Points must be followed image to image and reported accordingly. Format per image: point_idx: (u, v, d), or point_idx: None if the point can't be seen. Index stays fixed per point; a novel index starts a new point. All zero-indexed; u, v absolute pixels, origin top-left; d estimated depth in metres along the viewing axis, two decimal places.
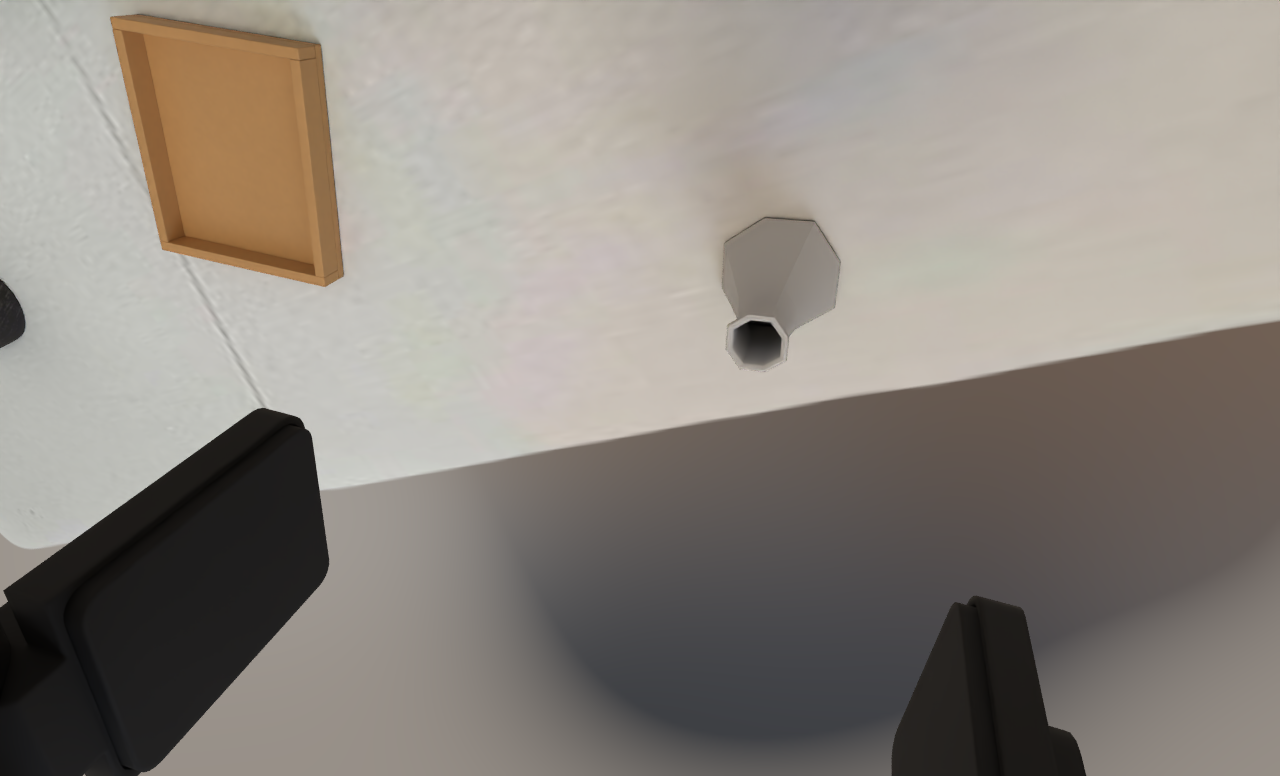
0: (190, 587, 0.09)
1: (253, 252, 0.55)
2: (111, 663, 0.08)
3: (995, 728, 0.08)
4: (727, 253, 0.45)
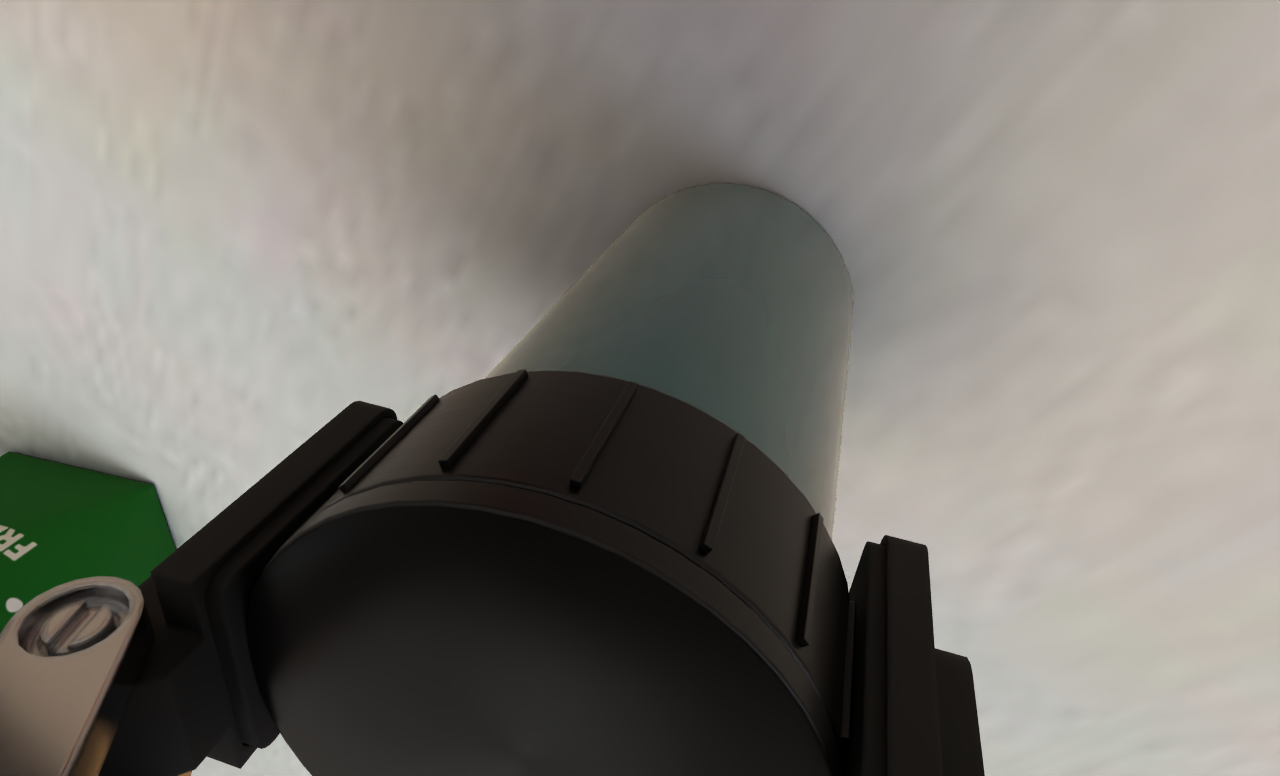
0: None
1: None
2: (242, 642, 0.09)
3: (885, 644, 0.08)
4: None
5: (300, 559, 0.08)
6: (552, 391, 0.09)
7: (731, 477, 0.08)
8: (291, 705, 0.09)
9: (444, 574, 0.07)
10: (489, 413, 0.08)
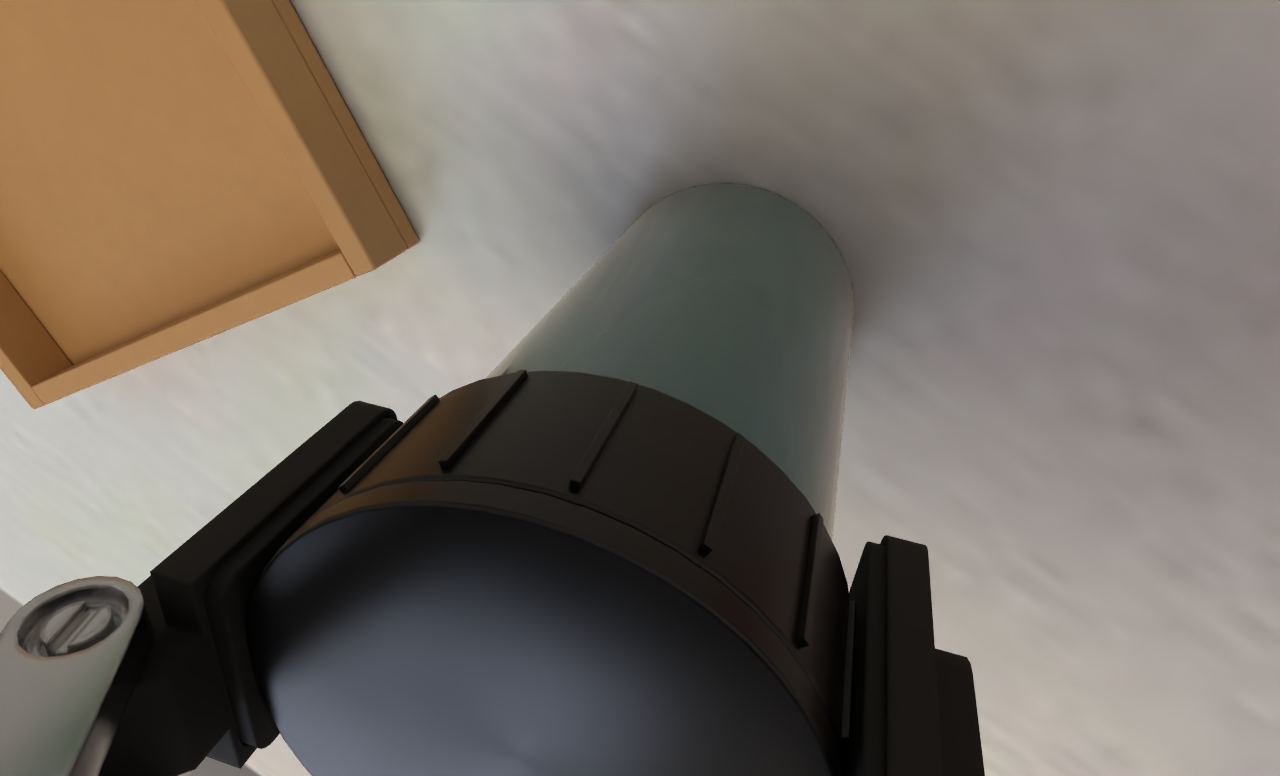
0: None
1: None
2: (241, 642, 0.09)
3: (885, 644, 0.08)
4: None
5: (300, 559, 0.08)
6: (552, 391, 0.09)
7: (731, 477, 0.08)
8: (291, 705, 0.09)
9: (444, 574, 0.07)
10: (489, 413, 0.08)
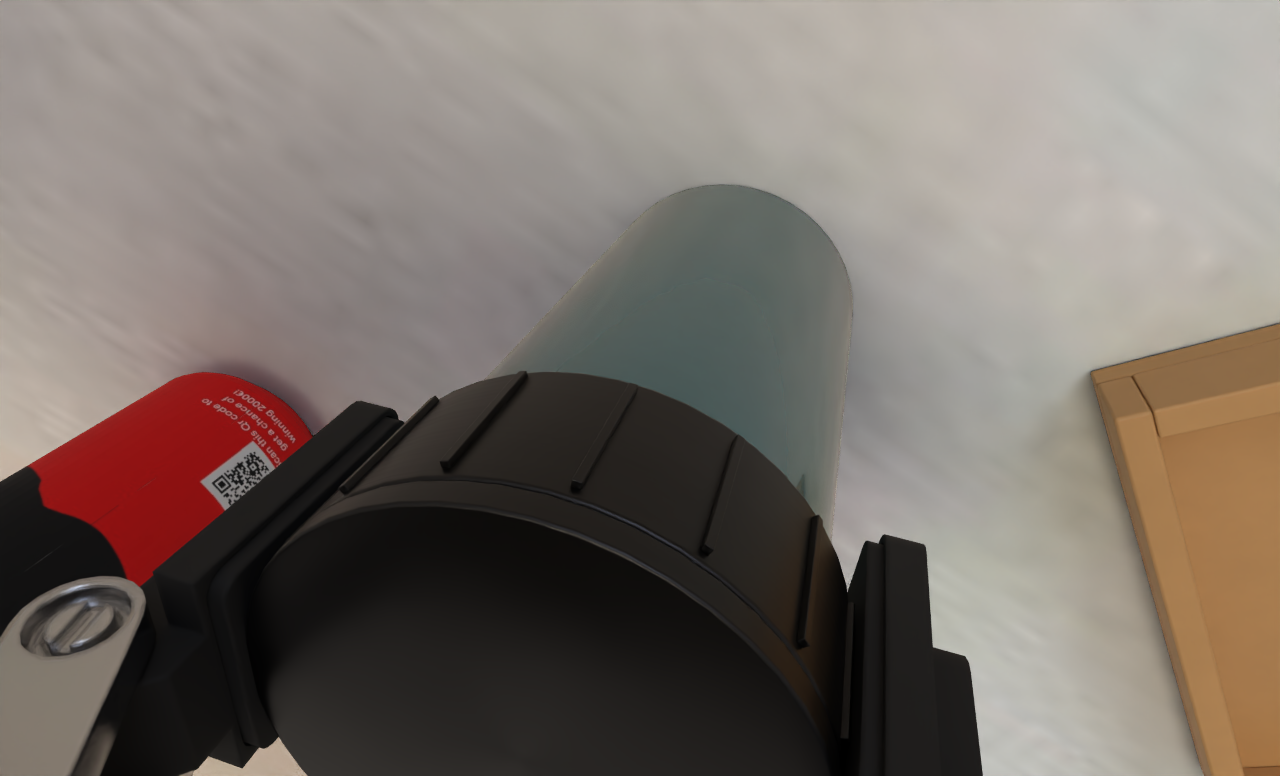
0: None
1: None
2: (244, 642, 0.09)
3: (884, 642, 0.08)
4: None
5: (300, 560, 0.08)
6: (552, 392, 0.09)
7: (731, 478, 0.08)
8: (288, 707, 0.09)
9: (445, 575, 0.07)
10: (490, 414, 0.08)
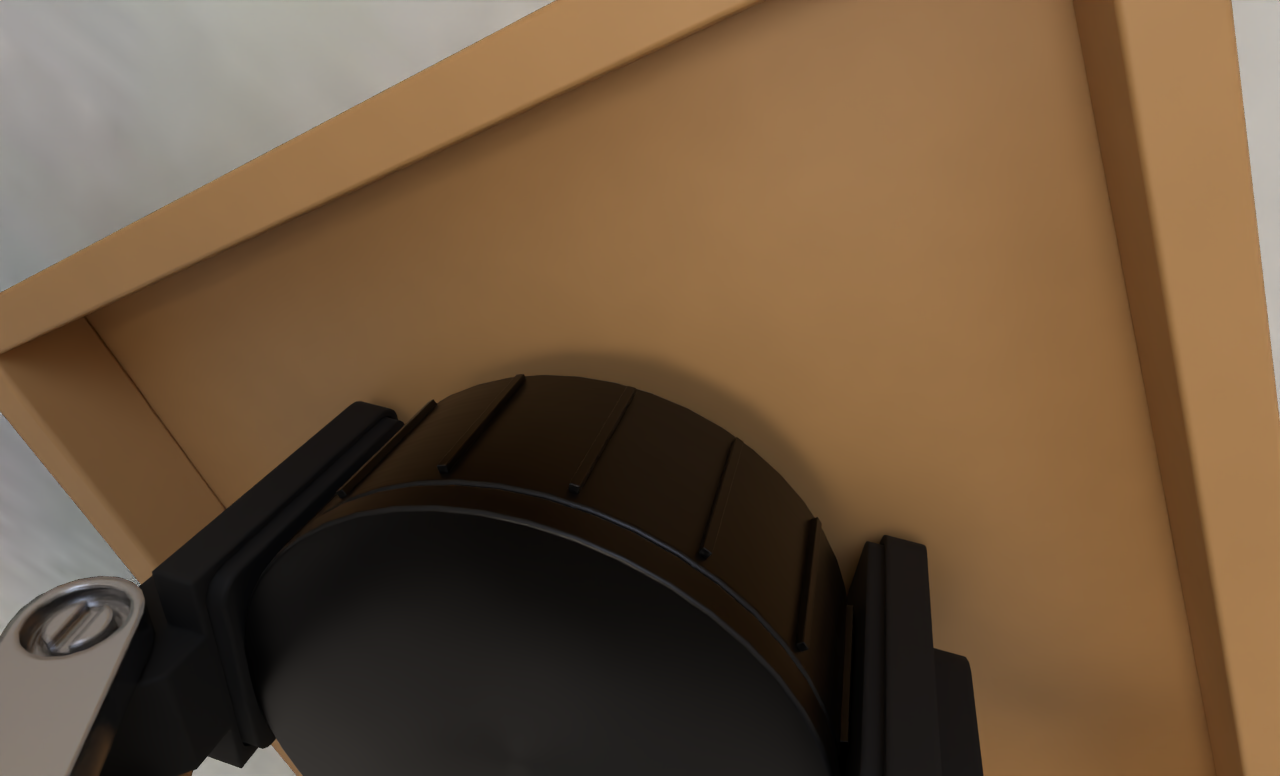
0: None
1: (1161, 460, 0.09)
2: (243, 642, 0.09)
3: (885, 643, 0.08)
4: None
5: (297, 565, 0.08)
6: (550, 396, 0.09)
7: (729, 481, 0.08)
8: (287, 711, 0.09)
9: (443, 579, 0.07)
10: (487, 418, 0.08)
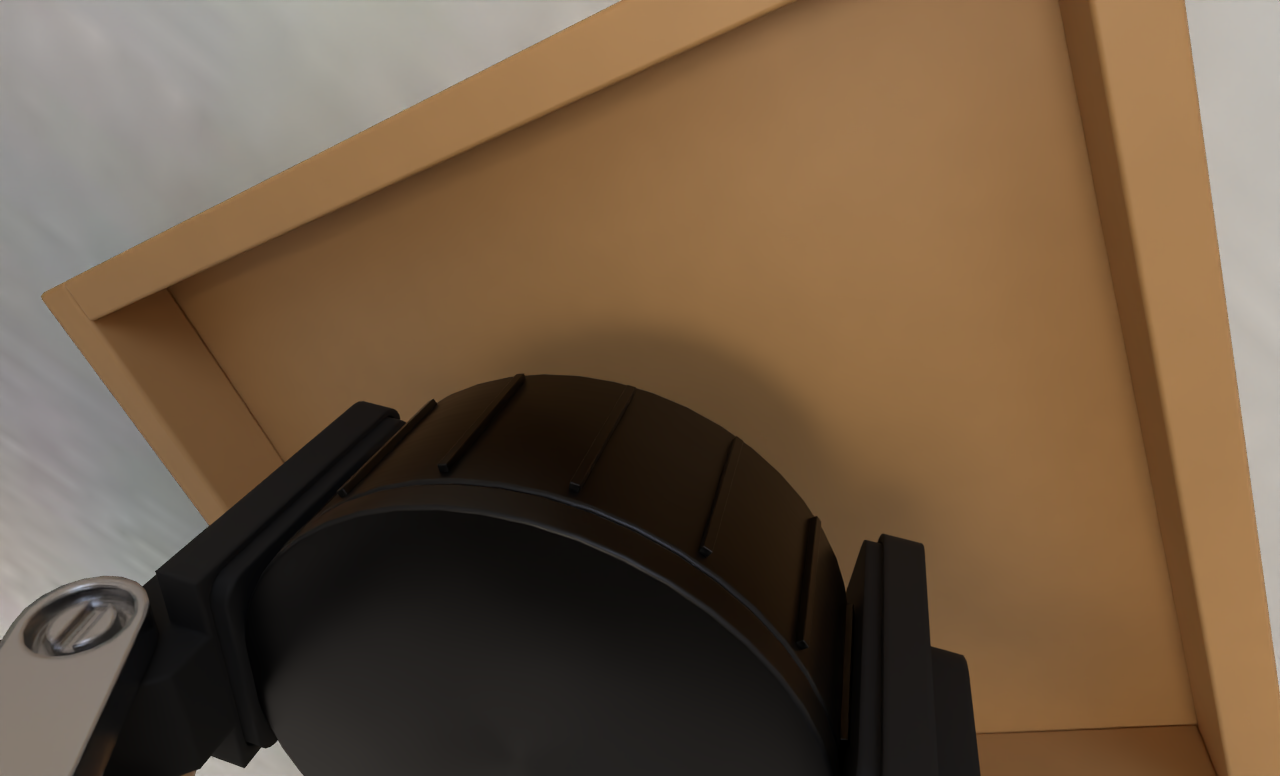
0: None
1: (1138, 405, 0.10)
2: None
3: (882, 641, 0.08)
4: None
5: (298, 564, 0.08)
6: (551, 395, 0.09)
7: (730, 480, 0.08)
8: (288, 710, 0.09)
9: (443, 578, 0.07)
10: (488, 417, 0.08)
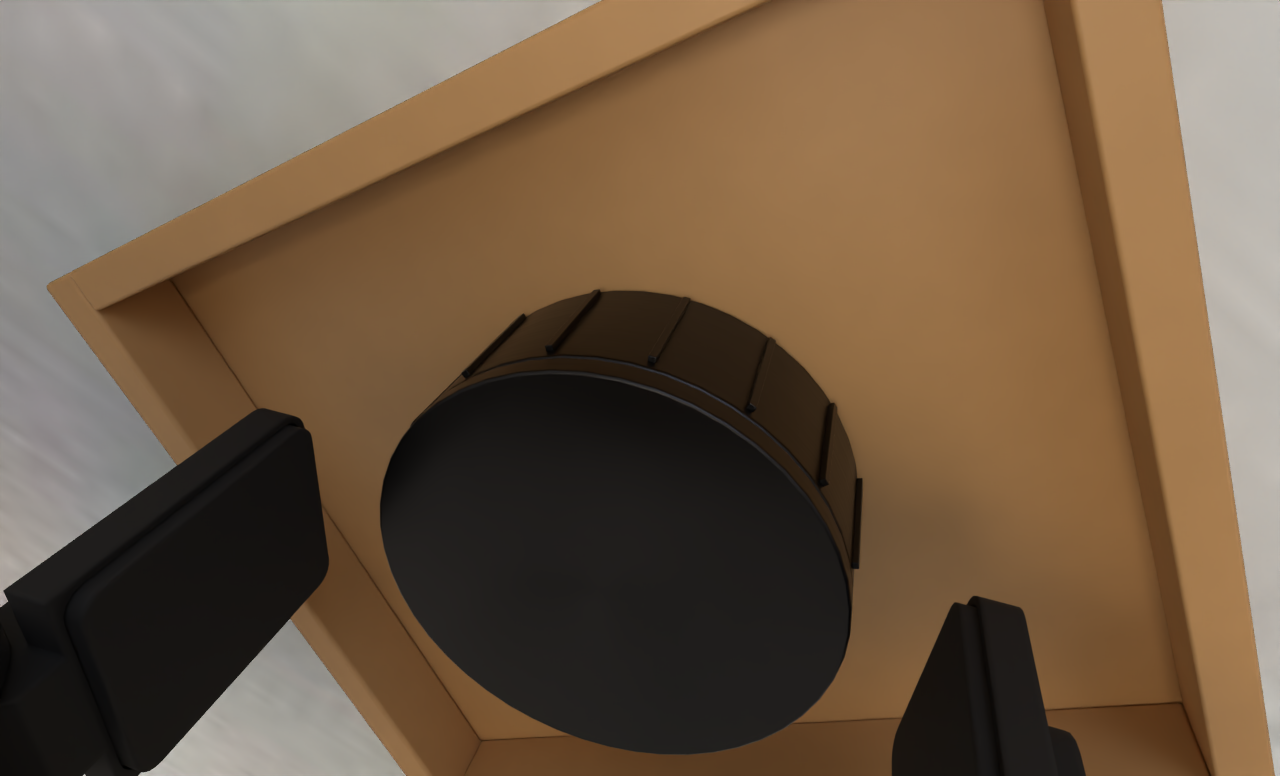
0: (190, 587, 0.09)
1: (1122, 387, 0.10)
2: (111, 663, 0.08)
3: (995, 728, 0.08)
4: None
5: (433, 426, 0.10)
6: (623, 303, 0.11)
7: (766, 365, 0.10)
8: (409, 559, 0.12)
9: (550, 431, 0.10)
10: (577, 317, 0.10)
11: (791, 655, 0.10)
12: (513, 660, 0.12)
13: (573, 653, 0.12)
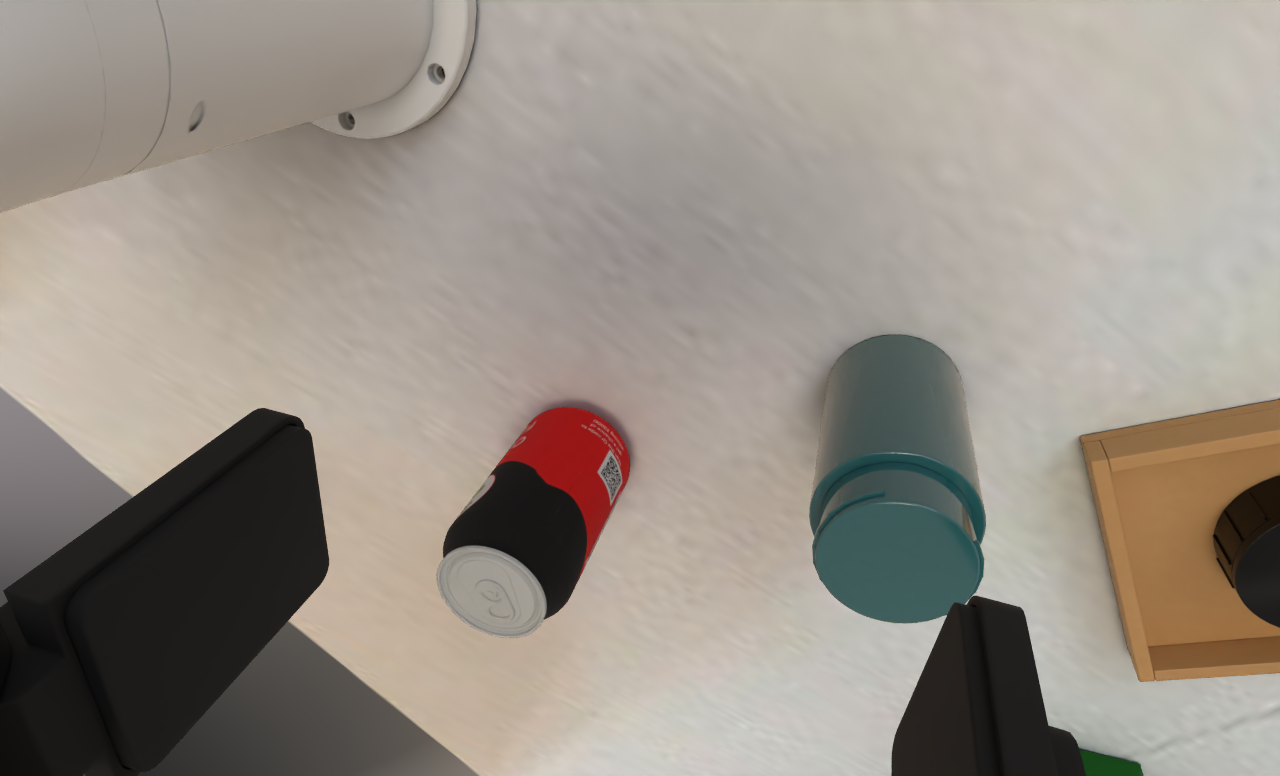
0: (190, 587, 0.09)
1: None
2: (111, 663, 0.08)
3: (995, 728, 0.08)
4: None
5: None
6: None
7: None
8: (1250, 564, 0.33)
9: None
10: None
11: None
12: (1276, 600, 0.33)
13: None
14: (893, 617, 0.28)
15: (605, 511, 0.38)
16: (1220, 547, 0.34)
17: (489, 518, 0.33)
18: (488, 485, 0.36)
